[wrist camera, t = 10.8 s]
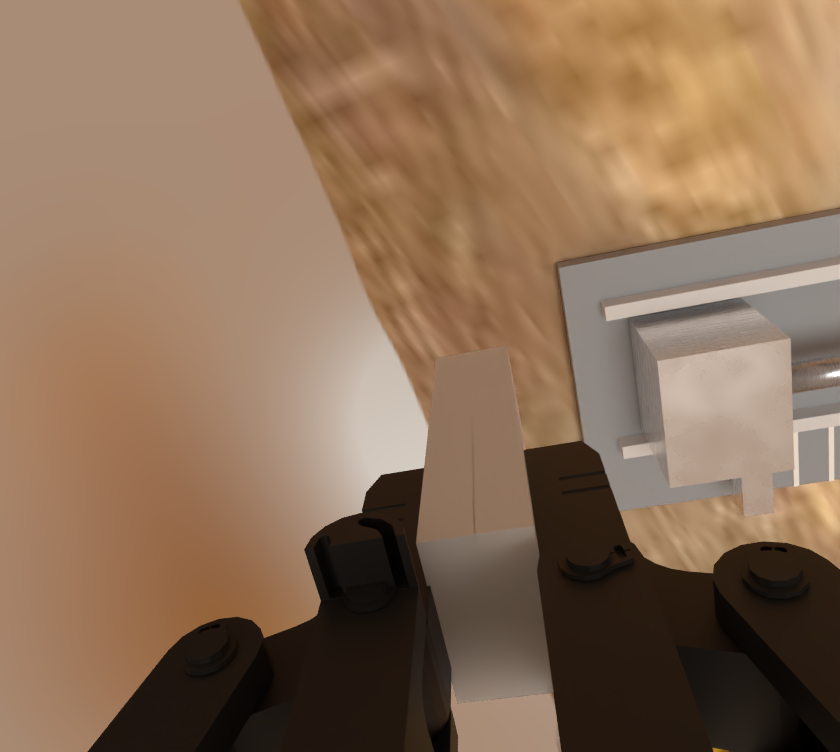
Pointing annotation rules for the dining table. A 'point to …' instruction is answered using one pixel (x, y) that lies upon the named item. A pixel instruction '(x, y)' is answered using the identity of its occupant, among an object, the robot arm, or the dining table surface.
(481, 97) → the dining table surface
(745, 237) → the grey slider board
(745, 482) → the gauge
